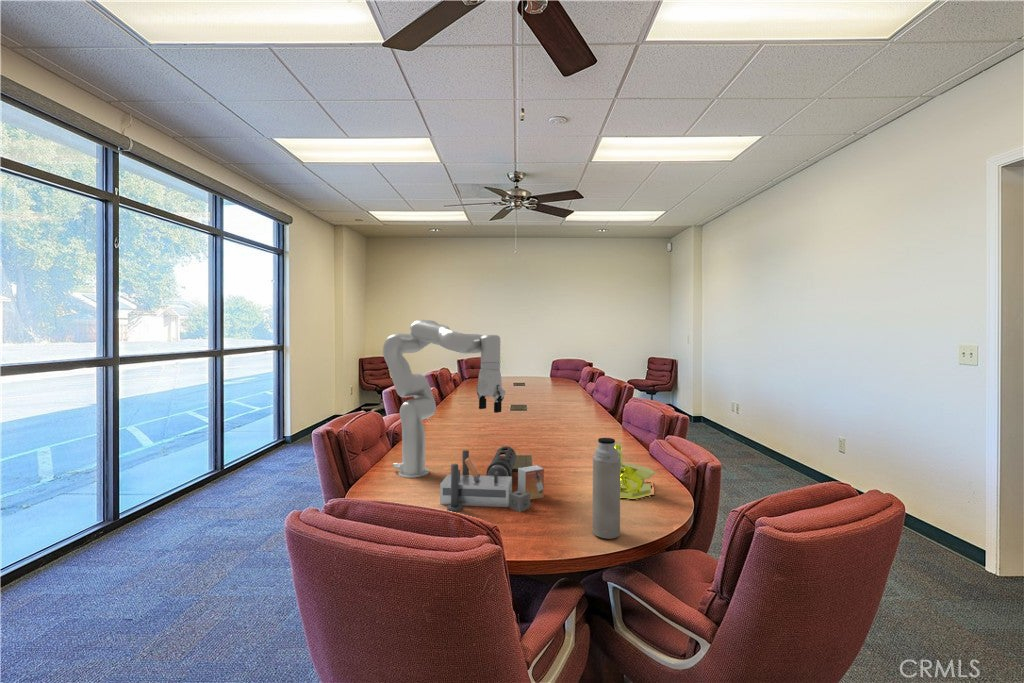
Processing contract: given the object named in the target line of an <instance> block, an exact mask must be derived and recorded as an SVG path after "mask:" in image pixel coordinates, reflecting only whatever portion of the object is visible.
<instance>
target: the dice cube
mask: <svg viewBox="0 0 1024 683" xmlns="http://www.w3.org/2000/svg"><path fill="white" fill-rule="evenodd" d="M508 508H509V509H511V510H513V511H515V512H518V513H521V512H525V511H526V510H528V509H529V510H530V509H531V500H530V493H527V492H524V491H521V490H518V489H517V490H516V491H514V492H513V491H512V493H510V494H509V507H508Z"/></svg>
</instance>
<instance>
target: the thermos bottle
mask: <svg viewBox="0 0 1024 683" xmlns="http://www.w3.org/2000/svg"><path fill="white" fill-rule="evenodd" d="M597 441H598V443H597V446H598V447H597V448H595V451H594V455H593V456H592V533H593V534H594V535H595V536H597V537H599V538H602V539H615V538H618V537H619V536H620V535H621V499H620V458H619V457H618V451H617V450H616V449H615V444H614V443H616V439H615V438H611V437H599V438H598V439H597Z"/></svg>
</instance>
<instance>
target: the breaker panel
mask: <svg viewBox="0 0 1024 683" xmlns="http://www.w3.org/2000/svg"><path fill="white" fill-rule="evenodd" d="M510 493H513V476H511V477H510V476H498V471H496V472H495V474H494V476H486V475H481V474H480V478H479V479H478V481H477V482H475V481H474V477H473V476H472V474H469V475H463V474H461V469H458V504H461V505H462V506H471V507H472V506H475V507H495V508H496V507H498V508H509V494H510ZM439 501H440V502H439V505H445V506H446V505H447V506H448V505H449V504H451V473H450V474H447V475H446V476H445V477H444V479H442V481H441V482H440V484H439Z"/></svg>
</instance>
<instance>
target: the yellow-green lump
mask: <svg viewBox="0 0 1024 683" xmlns="http://www.w3.org/2000/svg"><path fill="white" fill-rule="evenodd" d="M614 444H615V449H616V450H617V451H618V457H619V458H620V497H621V498H630V499H635V498H640V497H642V496H647V495H649V494H652V492H651V483H645V480H648V479H650V478H652V477H653V476H654V475H655V474H656V472H655V470H653V469H651V468H650V467H648V466H643V465H638V464H635V463H634V464H633V463H630V462H625V461H623V443H622V442H615V443H614Z"/></svg>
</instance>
